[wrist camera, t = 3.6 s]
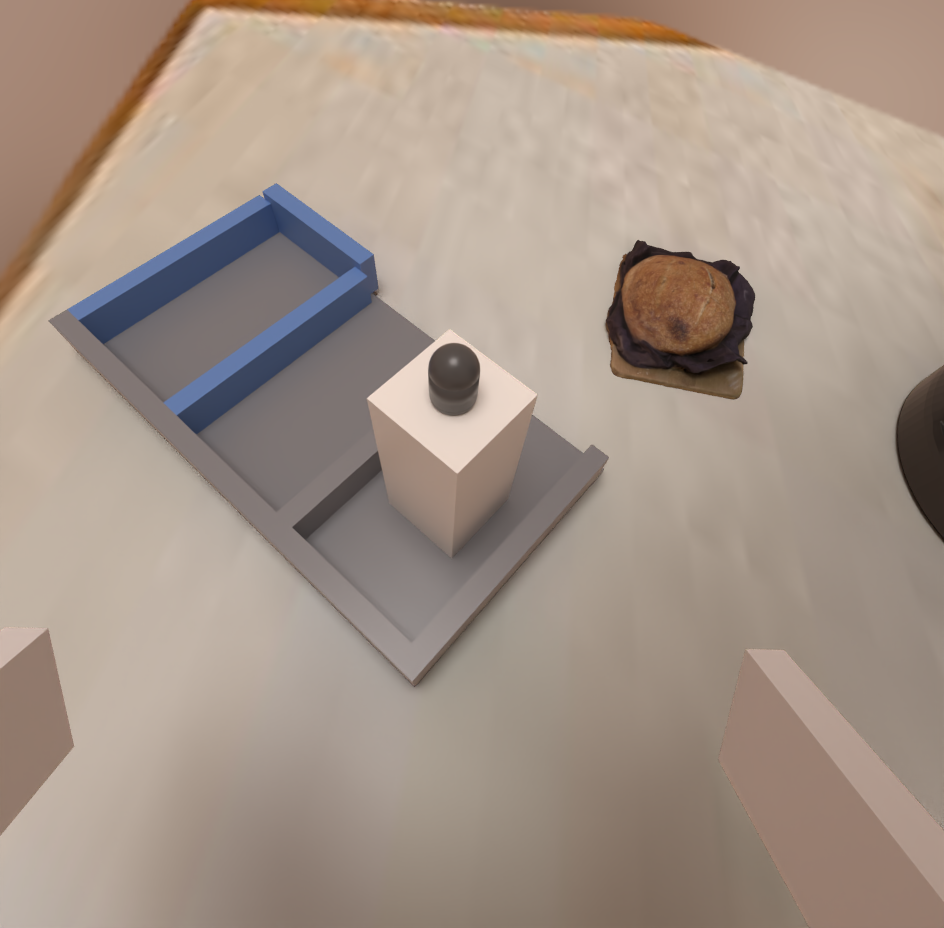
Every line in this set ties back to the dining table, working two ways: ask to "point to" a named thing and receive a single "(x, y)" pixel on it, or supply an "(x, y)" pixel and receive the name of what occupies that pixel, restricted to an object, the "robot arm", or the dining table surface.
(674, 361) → the bun on dark wrapper
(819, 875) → the robot arm
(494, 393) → the cream block with knob
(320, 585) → the gray divided tray
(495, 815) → the dining table surface
